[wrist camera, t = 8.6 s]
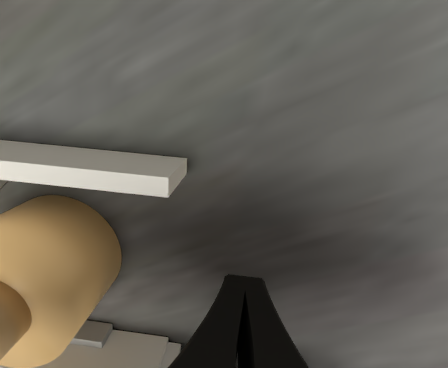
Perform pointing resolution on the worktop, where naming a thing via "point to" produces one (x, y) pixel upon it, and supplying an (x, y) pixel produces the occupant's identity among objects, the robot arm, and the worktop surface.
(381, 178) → the worktop surface
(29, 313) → the domed oval button
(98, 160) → the housing
